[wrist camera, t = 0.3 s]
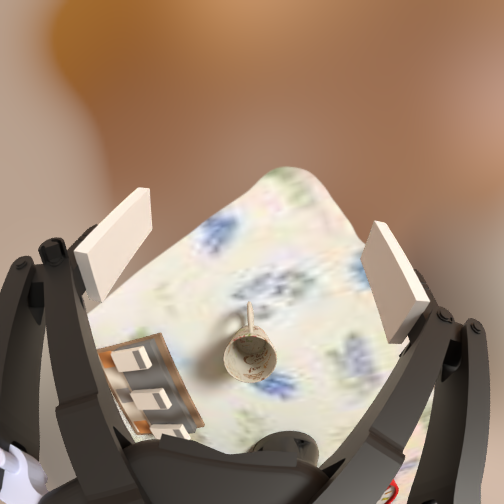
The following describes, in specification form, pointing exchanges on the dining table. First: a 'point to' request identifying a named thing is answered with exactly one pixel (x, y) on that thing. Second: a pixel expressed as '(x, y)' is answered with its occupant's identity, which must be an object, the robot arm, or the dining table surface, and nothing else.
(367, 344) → the dining table surface
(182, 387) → the switch board
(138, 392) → the rocker middle
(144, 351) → the block
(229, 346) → the mug
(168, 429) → the block
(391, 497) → the toy clock
